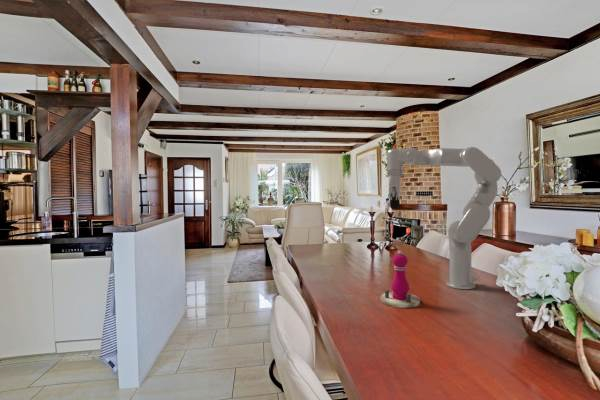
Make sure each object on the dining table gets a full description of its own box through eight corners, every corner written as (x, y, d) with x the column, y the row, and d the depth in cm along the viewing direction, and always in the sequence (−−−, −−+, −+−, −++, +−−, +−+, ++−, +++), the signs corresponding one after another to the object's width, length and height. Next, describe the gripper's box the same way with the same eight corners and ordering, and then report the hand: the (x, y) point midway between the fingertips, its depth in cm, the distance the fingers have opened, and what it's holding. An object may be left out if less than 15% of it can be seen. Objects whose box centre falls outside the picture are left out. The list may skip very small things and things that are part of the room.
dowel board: (402, 293, 146) (402, 283, 146) (428, 304, 131) (428, 293, 131) (372, 298, 140) (372, 288, 139) (397, 310, 125) (397, 299, 125)
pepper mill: (410, 301, 131) (410, 252, 130) (392, 300, 132) (391, 252, 132) (408, 295, 138) (408, 249, 138) (390, 294, 140) (390, 248, 139)
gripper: (389, 175, 171) (389, 207, 172) (385, 173, 155) (385, 208, 156) (404, 174, 169) (404, 207, 169) (401, 172, 153) (401, 208, 153)
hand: (395, 207), depth 162 cm, fingers open, 9 cm apart
